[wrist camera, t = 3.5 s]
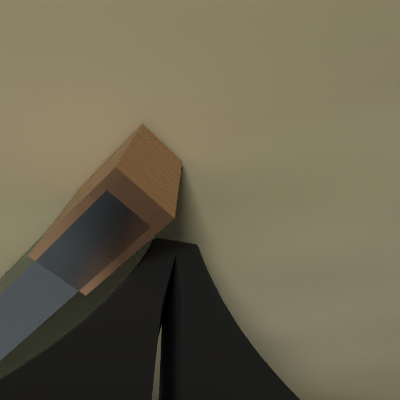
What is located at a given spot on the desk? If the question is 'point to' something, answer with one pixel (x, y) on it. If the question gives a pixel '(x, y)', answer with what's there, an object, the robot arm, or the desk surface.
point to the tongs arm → (92, 235)
